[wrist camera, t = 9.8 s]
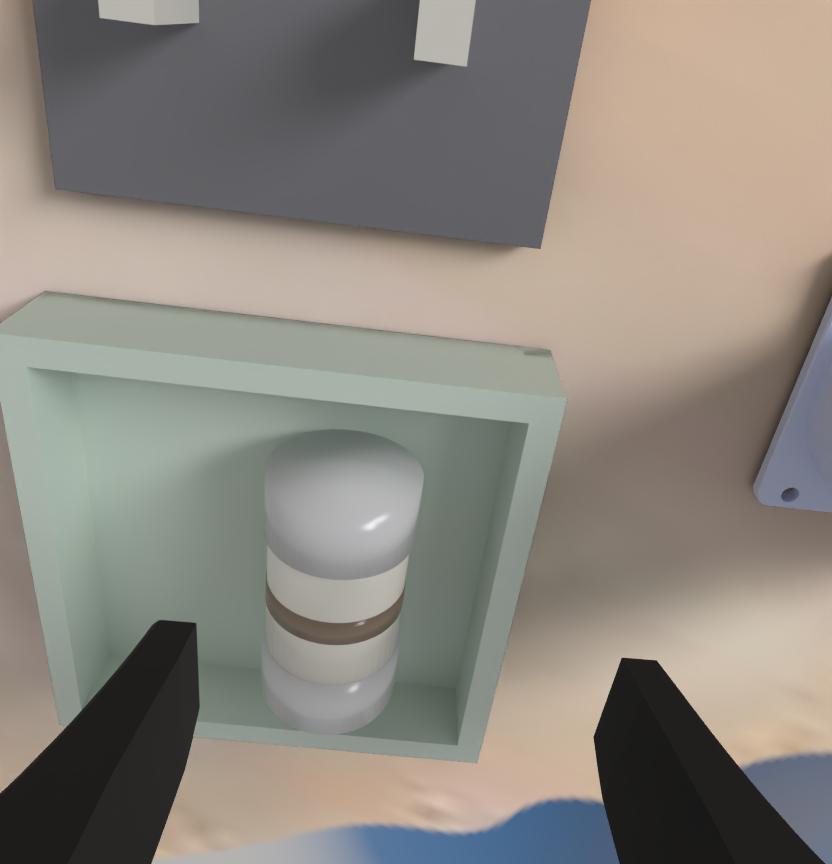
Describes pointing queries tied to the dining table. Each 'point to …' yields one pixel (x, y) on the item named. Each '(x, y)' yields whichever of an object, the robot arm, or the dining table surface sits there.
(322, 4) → the fuse block
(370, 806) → the dining table surface
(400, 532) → the fuse
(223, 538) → the parts tray
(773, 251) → the dining table surface
